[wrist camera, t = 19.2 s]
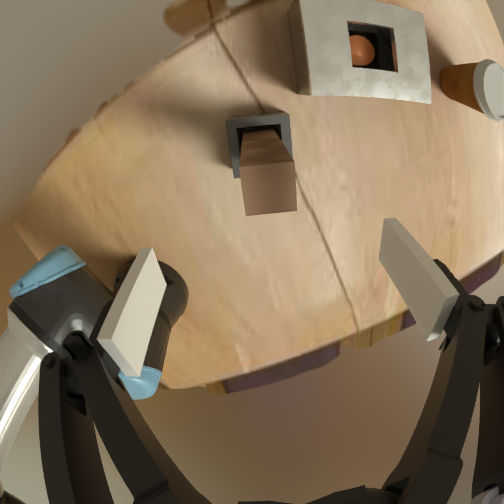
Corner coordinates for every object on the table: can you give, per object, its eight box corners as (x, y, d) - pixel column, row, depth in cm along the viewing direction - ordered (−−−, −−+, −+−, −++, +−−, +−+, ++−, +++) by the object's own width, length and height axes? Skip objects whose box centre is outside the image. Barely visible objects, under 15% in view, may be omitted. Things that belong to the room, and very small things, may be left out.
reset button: (335, 66, 30) (345, 63, 26) (332, 38, 27) (341, 33, 24) (364, 67, 29) (375, 66, 26) (361, 41, 27) (372, 37, 24)
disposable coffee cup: (463, 117, 32) (510, 134, 22) (427, 93, 31) (476, 103, 21) (473, 74, 27) (520, 83, 17) (437, 47, 26) (485, 46, 16)
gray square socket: (235, 170, 39) (234, 178, 36) (227, 117, 35) (225, 120, 31) (289, 164, 39) (293, 172, 35) (285, 111, 34) (289, 114, 31)
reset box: (297, 94, 33) (311, 95, 25) (287, 12, 26) (298, -8, 18) (398, 98, 32) (431, 104, 24) (391, 22, 25) (422, 13, 17)
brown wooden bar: (247, 155, 38) (245, 216, 21) (243, 129, 36) (239, 166, 19) (274, 152, 38) (297, 210, 21) (272, 126, 35) (294, 161, 19)
